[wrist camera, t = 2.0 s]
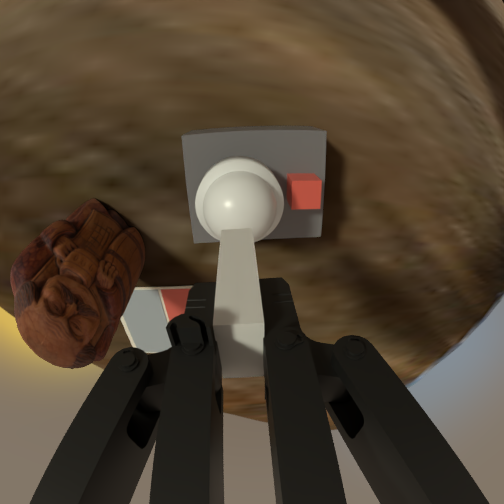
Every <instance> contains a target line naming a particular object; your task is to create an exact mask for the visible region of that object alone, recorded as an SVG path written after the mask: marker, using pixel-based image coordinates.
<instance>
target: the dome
mask: <svg viewBox="0 0 504 504" xmlns="http://www.w3.org/2000/svg"><path fill="white" fill-rule="evenodd" d="M195 209H196V214H197V217H198V219H199V221H200V223H201V225H202V226H203V228H204V229H205V230H206V231H207V232H208V233H209V234H210V235H211V236H213V237H214V238H216V239H217V240H219V241H220V239H221V230H227V229H245V228H252V231H253V238H254V242H257V241H259V240H261V239H263V238H265V237H266V236H267V235H269V234H270V233H271V232H272V231H273V230H274V229H275V228H276V226H277V225H278V223H279V221H280V219H281V217H282V214H283V209H284V197H283V193H282V190H281V187H280V185H279V183H278V181H277V179H276V177H275V175H274V174H273V172H272V171H271V170H270V169H269V168H268V167H267V166H266V165H265V164H264V163H262V162H260V161H259V160H256V159H254V158H251V157H246V156H233V157H228V158H225V159H223V160H221V161H219V162H217V163H216V164H214V165H213V166H212V167H211V168H210V169H209V170H208V171H207V172H206V174H205V175H204V177H203V179H202V181H201V183H200V186H199V188H198V190H197V194H196V199H195Z"/></svg>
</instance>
